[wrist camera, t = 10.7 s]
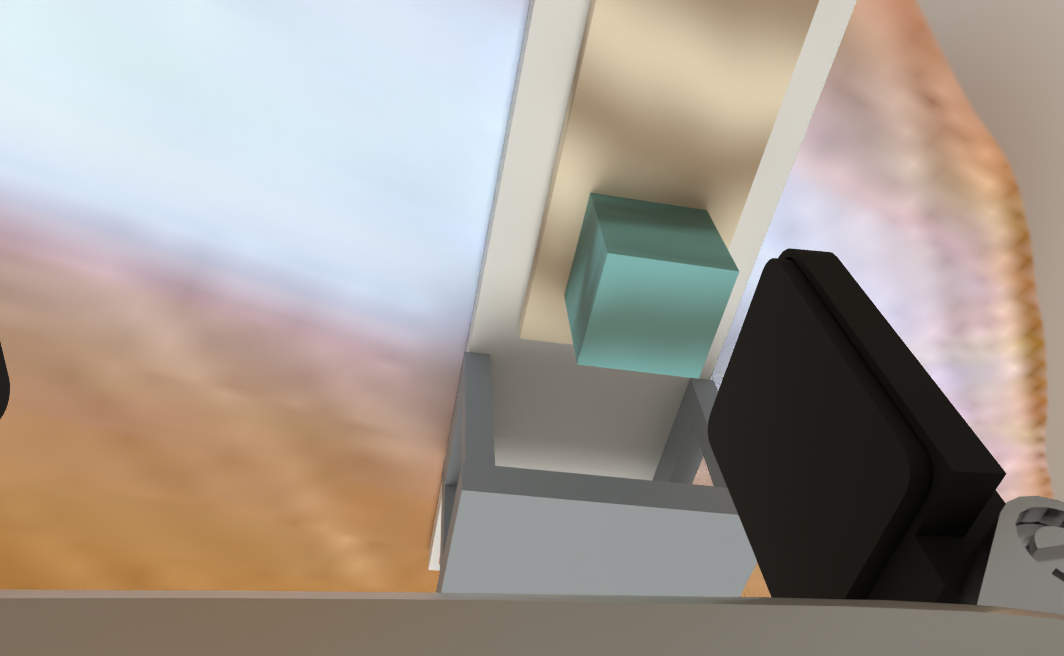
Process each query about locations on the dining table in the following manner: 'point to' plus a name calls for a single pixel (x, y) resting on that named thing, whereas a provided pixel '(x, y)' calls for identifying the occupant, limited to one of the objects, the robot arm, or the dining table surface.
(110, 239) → the dining table surface
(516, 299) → the tunnel board
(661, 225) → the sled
